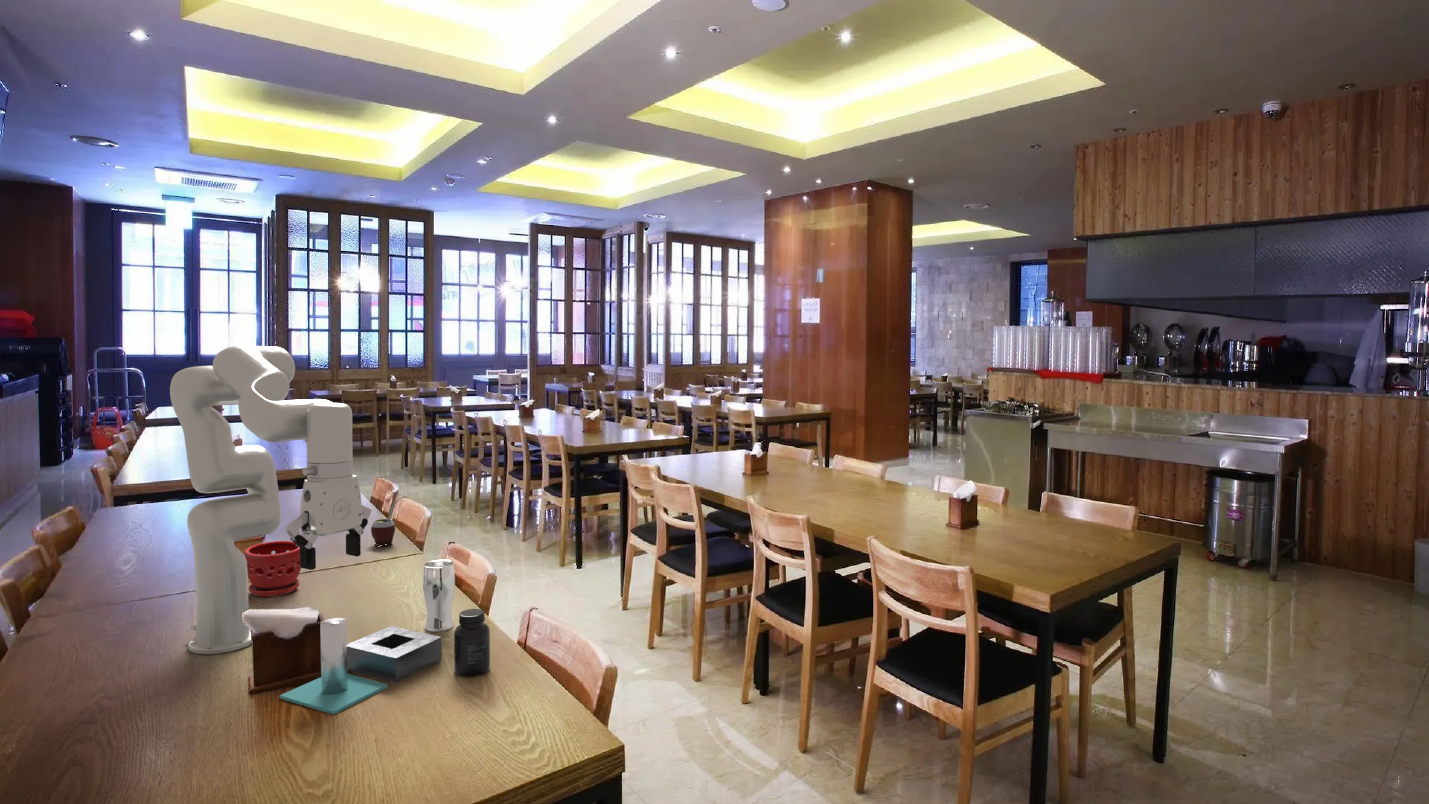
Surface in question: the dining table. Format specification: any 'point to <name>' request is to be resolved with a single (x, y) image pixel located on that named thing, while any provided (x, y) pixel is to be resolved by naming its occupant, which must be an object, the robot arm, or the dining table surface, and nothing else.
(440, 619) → the beer glass
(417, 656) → the block
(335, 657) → the steel peg
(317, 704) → the teal mat
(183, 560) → the dining table surface
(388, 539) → the mate gourd
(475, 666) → the supplement bottle
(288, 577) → the plant pot
